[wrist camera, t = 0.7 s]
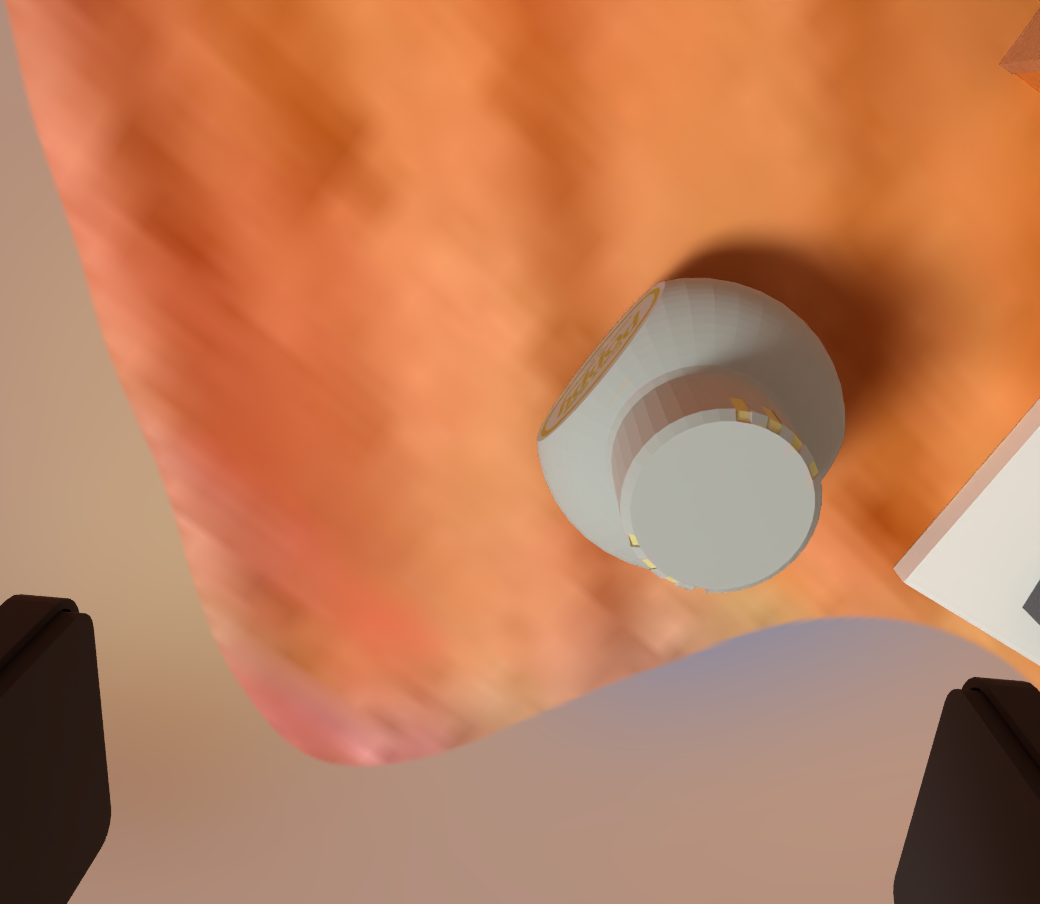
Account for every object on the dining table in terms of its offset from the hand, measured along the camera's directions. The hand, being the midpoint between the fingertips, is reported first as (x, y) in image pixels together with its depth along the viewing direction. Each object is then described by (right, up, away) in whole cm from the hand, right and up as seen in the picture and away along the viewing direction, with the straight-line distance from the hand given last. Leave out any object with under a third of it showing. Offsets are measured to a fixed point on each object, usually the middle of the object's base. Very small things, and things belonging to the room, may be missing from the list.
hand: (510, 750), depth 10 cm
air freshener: (+6, +5, +26) cm, 27 cm away
